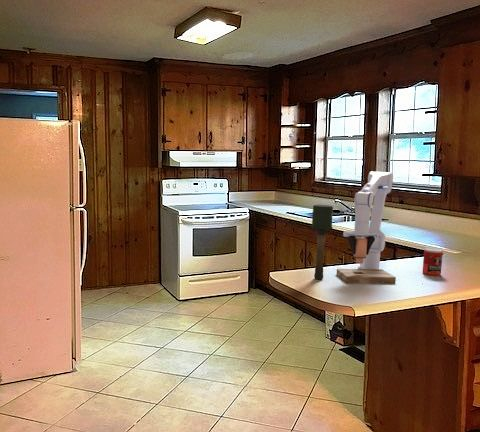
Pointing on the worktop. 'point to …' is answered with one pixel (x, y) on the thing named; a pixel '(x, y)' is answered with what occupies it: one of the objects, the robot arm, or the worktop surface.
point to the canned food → (432, 261)
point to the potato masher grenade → (321, 233)
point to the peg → (360, 249)
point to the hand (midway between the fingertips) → (359, 254)
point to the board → (365, 276)
